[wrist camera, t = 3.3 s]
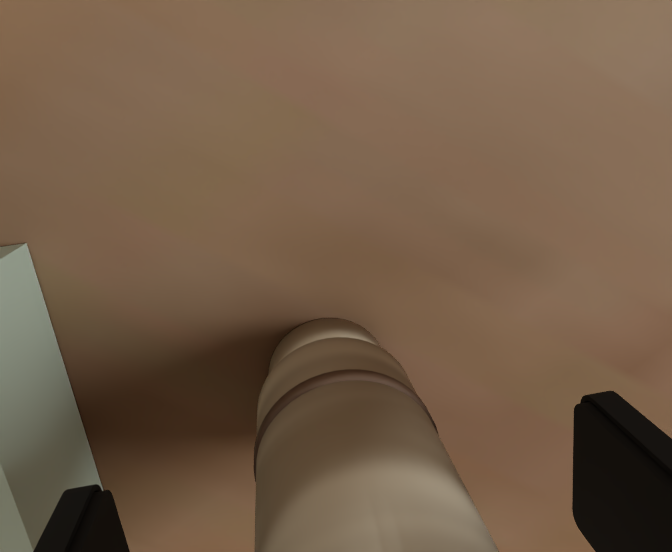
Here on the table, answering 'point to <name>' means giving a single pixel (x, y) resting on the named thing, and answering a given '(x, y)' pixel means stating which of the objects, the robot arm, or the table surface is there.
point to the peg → (353, 454)
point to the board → (34, 410)
